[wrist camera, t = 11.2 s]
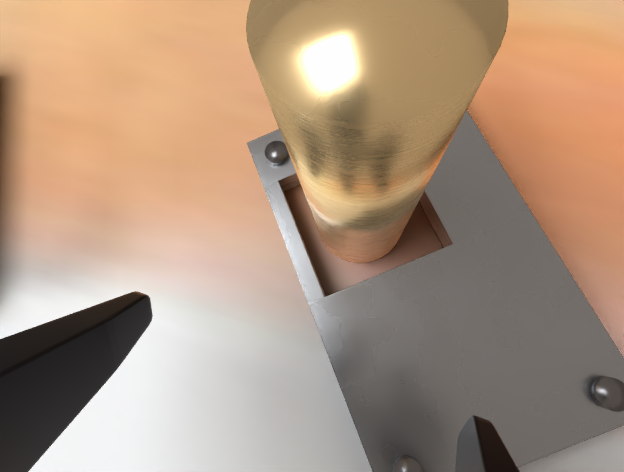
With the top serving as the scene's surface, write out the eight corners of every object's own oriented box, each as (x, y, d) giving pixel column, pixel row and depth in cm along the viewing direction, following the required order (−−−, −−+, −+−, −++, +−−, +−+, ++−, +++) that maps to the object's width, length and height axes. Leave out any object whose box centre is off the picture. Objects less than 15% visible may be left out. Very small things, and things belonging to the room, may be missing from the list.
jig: (627, 403, 14) (666, 414, 12) (386, 498, 14) (391, 523, 13) (430, 81, 19) (438, 56, 18) (254, 156, 20) (244, 138, 18)
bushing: (420, 231, 17) (570, 19, 5) (349, 279, 17) (338, 175, 5) (369, 168, 18) (396, -121, 6) (302, 212, 18) (203, 0, 6)
